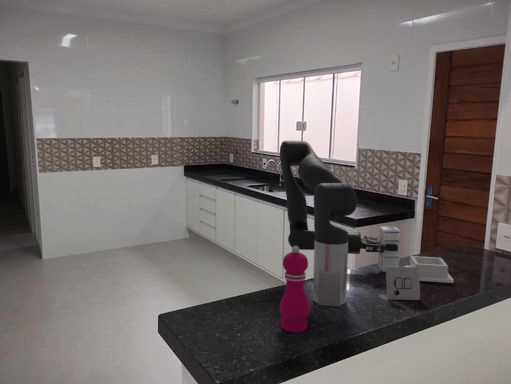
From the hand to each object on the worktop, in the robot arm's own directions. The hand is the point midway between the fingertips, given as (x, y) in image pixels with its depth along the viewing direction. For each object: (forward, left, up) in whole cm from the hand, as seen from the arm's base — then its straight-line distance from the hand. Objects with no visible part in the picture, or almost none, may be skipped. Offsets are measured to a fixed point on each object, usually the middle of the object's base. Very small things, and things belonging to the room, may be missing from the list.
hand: (396, 245), depth 141 cm
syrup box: (0, +2, -9) cm, 9 cm away
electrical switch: (-23, +1, -10) cm, 25 cm away
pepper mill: (-49, +29, -10) cm, 58 cm away
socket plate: (0, -11, -10) cm, 14 cm away
